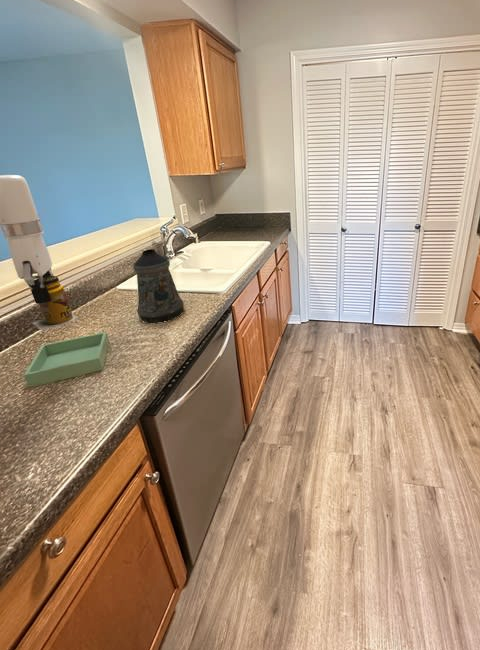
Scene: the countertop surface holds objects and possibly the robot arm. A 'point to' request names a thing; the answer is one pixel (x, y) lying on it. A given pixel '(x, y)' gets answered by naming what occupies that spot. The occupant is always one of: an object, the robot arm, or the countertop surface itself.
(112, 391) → the countertop surface
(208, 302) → the countertop surface
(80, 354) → the tray
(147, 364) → the countertop surface
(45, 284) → the condiment
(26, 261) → the robot arm
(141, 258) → the beer stein
